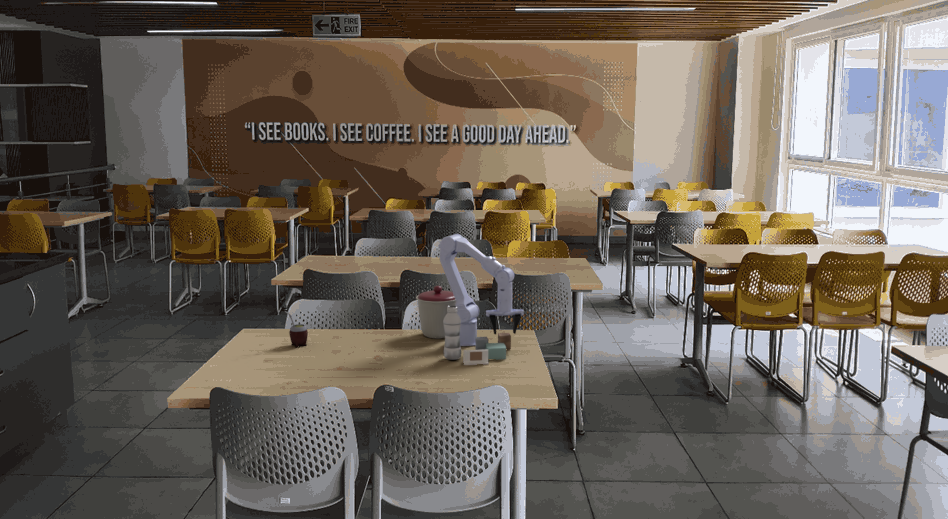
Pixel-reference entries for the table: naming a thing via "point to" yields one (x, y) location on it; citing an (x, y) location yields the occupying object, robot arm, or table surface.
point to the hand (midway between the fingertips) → (504, 333)
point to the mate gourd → (298, 334)
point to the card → (475, 357)
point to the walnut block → (505, 339)
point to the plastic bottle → (452, 334)
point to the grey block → (481, 343)
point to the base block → (496, 350)
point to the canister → (434, 311)
